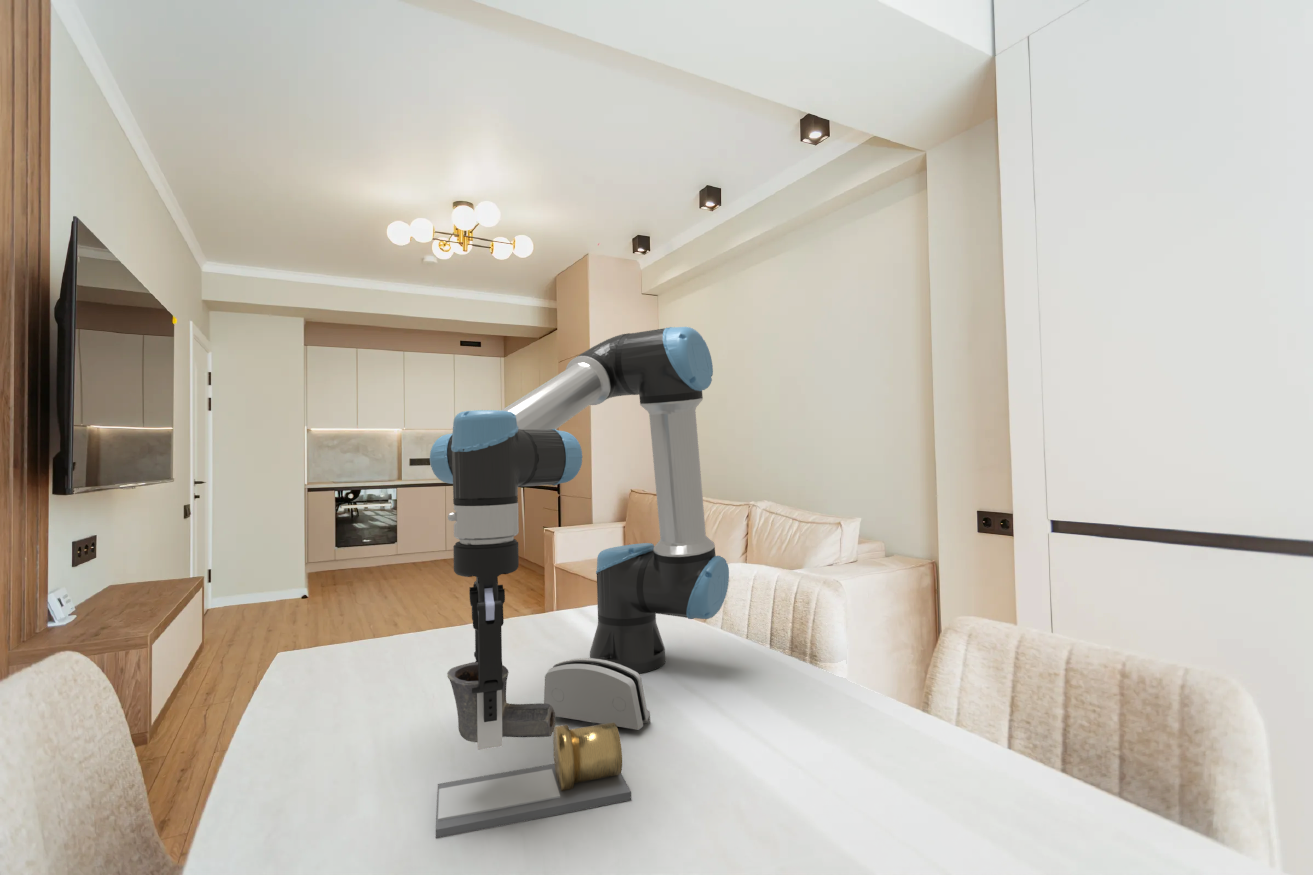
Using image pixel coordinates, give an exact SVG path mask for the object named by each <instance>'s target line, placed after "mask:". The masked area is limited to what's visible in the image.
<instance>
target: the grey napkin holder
mask: <svg viewBox="0 0 1313 875" xmlns="http://www.w3.org/2000/svg"><path fill="white" fill-rule="evenodd" d="M543 688H544V689H543V690H544V692H543V693H544V694H543V704H550V705H551V706H552V707H553V709H554V712H555V717H557V718H565V719H571V720H576V721H582V722H588V723H593V724H598V725H601V724H607V723H615V724H616V726H617V728H618V727H619V728H624V729H630V730H638V731H639V730H641V729H642V728H643V727H644V724H646V725H647V724H648V725H650V724H651V723H652V721H651V712H650V710H649V709H648V708H647V703H646V698H645V697H646V696H645V692H644V687H643V682H642V677H641V675H640V673H637V672H636V671H634V670H632V669H630V668H628V667H625V666H623V665H620V664H617V663H614V662H611V661H607V660H601V659H594V658H590V657H589V658H588V657H583V658H581V657H580V658H573V659H568V660H564V661H561V662H557V663H556V664H554V665H553V666H552V667H550V668H549V669H548V671H547V672H546V674H545V675H544V687H543Z"/></svg>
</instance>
